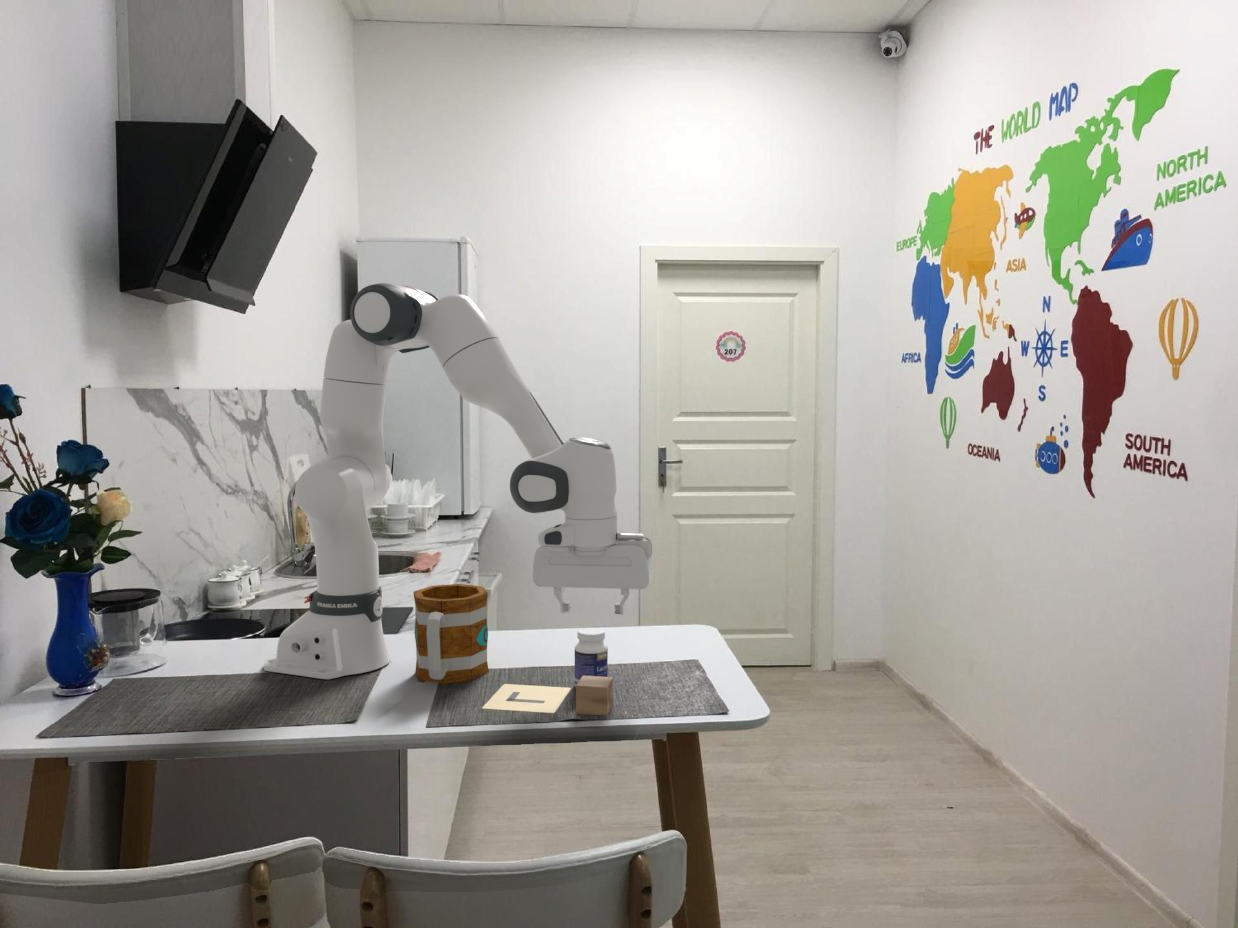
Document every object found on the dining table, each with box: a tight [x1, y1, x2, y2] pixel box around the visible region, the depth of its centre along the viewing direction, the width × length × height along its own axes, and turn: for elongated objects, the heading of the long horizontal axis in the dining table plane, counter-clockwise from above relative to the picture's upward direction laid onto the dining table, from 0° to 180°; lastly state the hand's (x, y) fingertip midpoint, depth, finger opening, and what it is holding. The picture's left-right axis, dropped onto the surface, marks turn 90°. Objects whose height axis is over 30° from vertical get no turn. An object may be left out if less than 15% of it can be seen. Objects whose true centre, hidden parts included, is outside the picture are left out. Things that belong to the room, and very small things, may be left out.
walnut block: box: [575, 676, 614, 716], centre depth 145 cm, size 5×5×5 cm
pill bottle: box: [574, 627, 609, 688], centre depth 156 cm, size 6×6×10 cm
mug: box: [413, 583, 490, 685], centre depth 160 cm, size 20×14×15 cm
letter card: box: [481, 683, 572, 714], centre depth 150 cm, size 12×12×1 cm
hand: (592, 612), depth 155 cm, fingers open, 8 cm apart
